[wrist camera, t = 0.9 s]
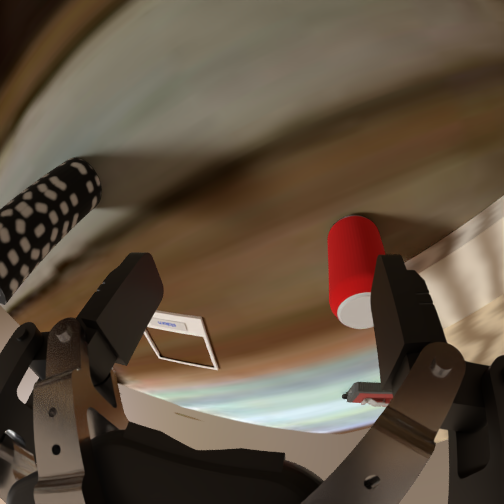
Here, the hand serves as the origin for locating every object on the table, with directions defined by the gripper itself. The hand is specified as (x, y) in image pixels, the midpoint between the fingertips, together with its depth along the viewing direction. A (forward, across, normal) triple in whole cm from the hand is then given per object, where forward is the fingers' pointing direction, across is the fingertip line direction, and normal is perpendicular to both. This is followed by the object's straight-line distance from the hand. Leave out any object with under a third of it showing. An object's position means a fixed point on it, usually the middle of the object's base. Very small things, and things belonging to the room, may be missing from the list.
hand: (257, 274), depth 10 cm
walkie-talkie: (+24, -21, +54) cm, 63 cm away
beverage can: (+22, -7, +11) cm, 25 cm away
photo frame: (+24, +24, +37) cm, 50 cm away
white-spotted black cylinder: (+22, +29, +2) cm, 37 cm away
